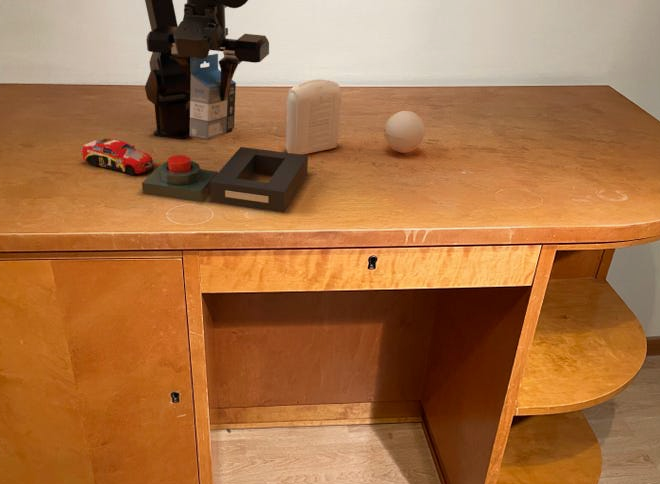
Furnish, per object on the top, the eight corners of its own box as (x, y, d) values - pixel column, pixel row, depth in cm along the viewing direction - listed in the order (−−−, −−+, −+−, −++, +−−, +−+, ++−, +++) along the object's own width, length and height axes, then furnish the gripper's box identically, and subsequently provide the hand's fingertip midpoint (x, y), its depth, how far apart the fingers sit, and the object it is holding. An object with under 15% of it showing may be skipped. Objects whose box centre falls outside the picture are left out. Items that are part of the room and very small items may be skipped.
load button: (165, 172, 113) (164, 162, 112) (173, 164, 116) (172, 153, 114) (186, 175, 112) (185, 165, 111) (194, 167, 115) (193, 156, 114)
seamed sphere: (413, 142, 135) (418, 104, 130) (427, 157, 129) (433, 117, 125) (363, 145, 133) (367, 106, 128) (375, 161, 127) (379, 120, 123)
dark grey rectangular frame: (210, 202, 112) (209, 182, 110) (241, 166, 124) (240, 146, 121) (283, 213, 110) (283, 192, 107) (307, 174, 121) (308, 155, 119)
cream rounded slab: (327, 140, 134) (331, 73, 127) (341, 148, 131) (345, 79, 124) (282, 150, 130) (282, 81, 122) (294, 158, 127) (296, 88, 119)
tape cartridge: (208, 141, 116) (210, 61, 110) (188, 137, 118) (189, 57, 111) (234, 132, 124) (237, 56, 117) (215, 128, 125) (217, 53, 119)
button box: (142, 193, 114) (140, 173, 111) (162, 174, 120) (160, 154, 118) (201, 202, 112) (200, 181, 110) (218, 182, 118) (217, 162, 116)
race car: (160, 168, 122) (158, 146, 119) (140, 179, 118) (138, 156, 115) (99, 152, 126) (96, 130, 124) (79, 162, 122) (75, 140, 120)
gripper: (125, 0, 103) (137, 107, 112) (247, 11, 99) (249, 121, 109) (156, -14, 111) (165, 87, 121) (270, -5, 108) (270, 99, 117)
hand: (210, 98), depth 117 cm, fingers closed on tape cartridge, 4 cm apart
